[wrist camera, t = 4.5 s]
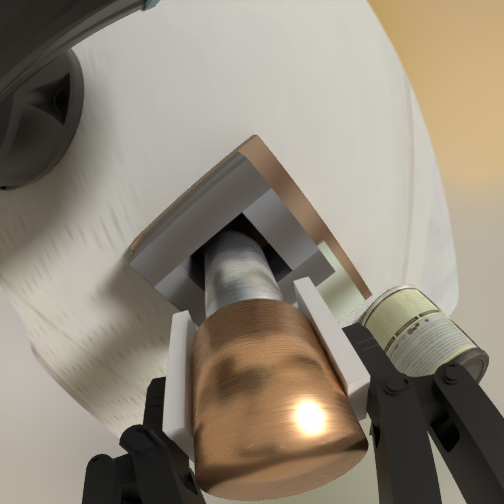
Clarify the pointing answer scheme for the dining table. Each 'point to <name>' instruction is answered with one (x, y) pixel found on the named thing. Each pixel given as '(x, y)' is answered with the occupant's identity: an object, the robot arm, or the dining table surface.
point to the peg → (263, 385)
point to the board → (264, 226)
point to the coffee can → (421, 334)
